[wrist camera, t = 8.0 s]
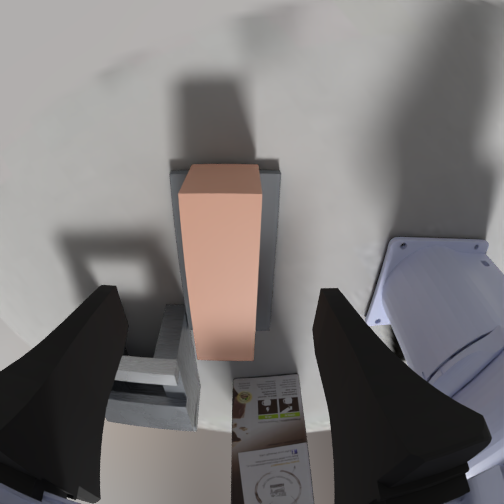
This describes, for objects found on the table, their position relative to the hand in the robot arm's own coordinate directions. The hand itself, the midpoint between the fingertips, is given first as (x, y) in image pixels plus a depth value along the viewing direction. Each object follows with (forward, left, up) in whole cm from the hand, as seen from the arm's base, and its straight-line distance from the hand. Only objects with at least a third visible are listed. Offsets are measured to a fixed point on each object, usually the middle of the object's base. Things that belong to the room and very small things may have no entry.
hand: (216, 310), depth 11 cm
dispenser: (+7, +13, -9) cm, 17 cm away
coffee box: (-3, +21, -9) cm, 24 cm away
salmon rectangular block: (0, +3, -8) cm, 9 cm away
